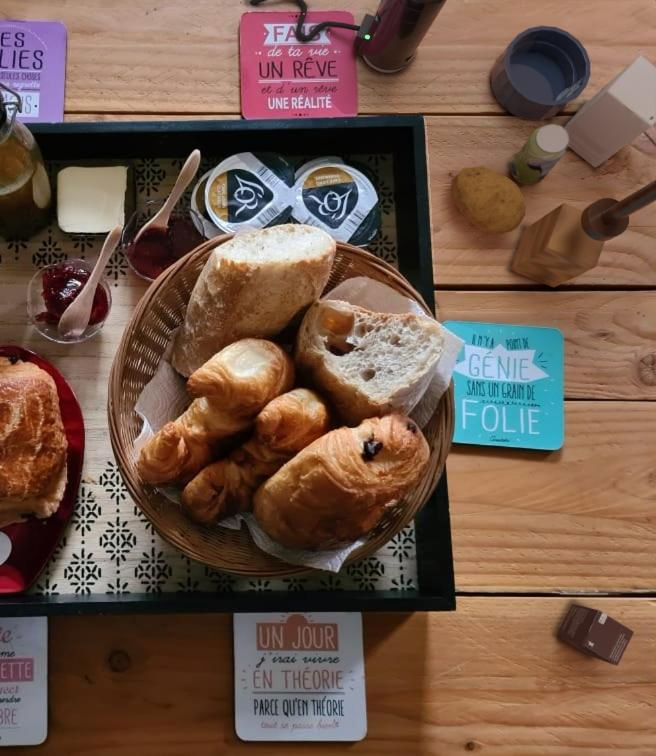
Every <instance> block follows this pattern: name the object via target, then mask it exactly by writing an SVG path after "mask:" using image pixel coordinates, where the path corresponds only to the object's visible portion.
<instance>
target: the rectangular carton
mask: <svg viewBox="0 0 656 756" xmlns="http://www.w3.org/2000/svg"><path fill="white" fill-rule="evenodd" d="M655 124H656V66H655V65H653V64H652V63H651V62H650V61H649V60H647V59H646V58H645V57H644V56H643V55H641V54H640V55H638V56H637V57H636V58H635V59H634V60H633V61H632V62H630V63H629V64H628V65H626V67H625V68H624V69H622V70H621V71H620V72H619V73H618V74H616V75H615V77H613V78H612V79H611V80H610V81H609V82H607V84H606V85H605V86H603V87H602V88H601V89H600V90H599V91H598V92H597V93H595V94H594V95H593V96H592V97H591V98H590V99H589V100H587V101H586V102H585V103H584V104H583V105H582V107H580V108H579V110H578V111H577V112H576V113H575V114H574V115H573V116H572V118H571V119H570V120H569V121H568V122H567V123H566V125H564V127H563V128H564V129H565V130H566V131H567V133H568V135H569V147H568V148H570V149H571V150H572V151H573V152H574V153H576V154H577V155H578V156H580V157H581V158H582V159H583V160H585V161H586V162H587V163H588V164H590V165H591V166H592V167H594V168H597V167H598V166H600V165H601V164H603V163H604V162H606V161H607V160H608V159H610V158H611V157H612V156H614V155H615V154H616V153H618V152H619V151H620V150H622V149H623V148H624V147H626V146H627V145H628V144H630V143H631V142H632V141H634V140H635V139H637V138H638V137H640V136H641V135H642V134H643V133H645V132H646V131H648V130H649V129H651V128H652V127H653V126H654V125H655Z"/></svg>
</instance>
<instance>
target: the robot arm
mask: <svg viewBox="0 0 656 756" xmlns="http://www.w3.org/2000/svg"><path fill="white" fill-rule="evenodd" d="M267 1H268V0H249V5H251V6H255V5H257V4H260V3H263V2H267ZM293 1H295V2H296V3H298V5H299V6H301V14H300V16H299V18H298V19H299V20H298V22H297V26H296V35H297V37H298V38H299V39H301V40H302V41H310V40H312V39H313V38H314V37H315V36H316V35H317V34H318V32H320V30H322V29H324V28H336V29H345V30H350V31H354V32H357V33H356V35H355V38H354V40H353V42H352V45H353V46H356V47H359V48H358V50H357V52H356V55H357V56H359V57H361V58H362V59H363V61H364V63H365V64H366V65H367V66H368V67H369V68H370V69H372V70H374V71H376V72H379V73H381V74H395V73H399V72H400V71H402V70H403V69H405V68H406V67H407V66H408V65H409V63H410V62H411V60H412V59H413V58H414V57H415V56H416V54H417V53H418V51H417V50H418V48H419V46H420V45H421V43H422V41H423V40H424V39H425V37H426V35H427V33H428V32H429V30H430V29H431V27H432V26H433V24H434V22H435V21H436V19H437V18H438V16H439V14H440V12H441V11H442V9H443V7H444V6H445V4H446V2H447V1H448V0H380V1H379V3H378V6H377V7H376V10H375V12H374V14H373V15H372V14H369V13H365V14H364V17H363V19H362V21H361V23H360V25H357V24H351V23H347V22H339V21H338V22H337V21H332V20H331V21H330V20H329V21H328V20H327V21H322V22H320V23H318V24H317V25H316V26H315V27H314V28H313V29H312V31H310V33H308V34H304V33H303V32H302V27H303V25H304V22H305V19H306V16H307V11H308V6H307V3H306V1H304V0H293ZM303 13H305V15H303Z"/></svg>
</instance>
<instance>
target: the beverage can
mask: <svg viewBox="0 0 656 756" xmlns="http://www.w3.org/2000/svg"><path fill="white" fill-rule="evenodd" d="M569 148H570V147H569V135H568V133H567V131H566V130H565V129H564V127H563V126H561V125H560V124H555V123H550V124H549V123H548V124H546V125H542V126H539V127H538V128H536V129H535V130H534V131H533V132H532V134H531V135H530V136H529V137H528V139H527V140H526V141H525V143H524V144H523V146H522V147H521V149H520V150H519V151H518V153H516V156H515V157H514V159H513V160H512V161H511V165H510V172H511V175H512V177H513V178H514V179H515V180H516V181H517V182H519V183H521V184H523V185H530V186H531V185H535V184H539V183H540V182H541V181H543V180H544V179H545V178H546V177H547V176H548V175H549V173H550V172H551V171H552V169H553V168H555V166H556V165H557V164H558V163H559V161H560V160H562V158H563V156H564V155H565V154H566V153H567V152H568V150H569Z"/></svg>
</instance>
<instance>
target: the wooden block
mask: <svg viewBox="0 0 656 756" xmlns="http://www.w3.org/2000/svg"><path fill="white" fill-rule="evenodd" d="M583 211H584V210H583V209H581V208H578V207H575V206H573V205H570V204H567V203H565V202H563V203H561V204H560V205H558V206H557V207H555V208H554V209H553V210H551V211H550V212H548V213H546V214H544V215H543V216H542V217H540V218H539V219H538V220H537V221H534V222H533V223H532V224H530V225H528V226H527V227H526V228H524V230H523V233H522V236H521V239H520V242H519V244H518V247H517V250H516V252H515V255H514V258H513V260H512V263H511V266H510V269H509V270H510V271H512V272H513V273H514V272H515V273H517V274H519V275H522V276H525V277H527V278H530V279H531V280H534V281H537V282H539V283H542V284H543V285H547V286H549V287H552V288H556V287H558V286H560V285H562V284H564V283H566V282H568V281H570V280H573V279H574V278H577V277H579V276H581V275H582V274H584V273H587V272H589V271H591V270H593V269H595V268H597V266H598V263H599V261H600V260H599V259H600V257H601V254H602V252H603V248H604V245H605V243H606V241H597V240H594V239H592V238H590V237H589V236H588V235H587V234H586V233H585V232H584V230H583V228H582V225H581V215H582V213H583Z"/></svg>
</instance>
